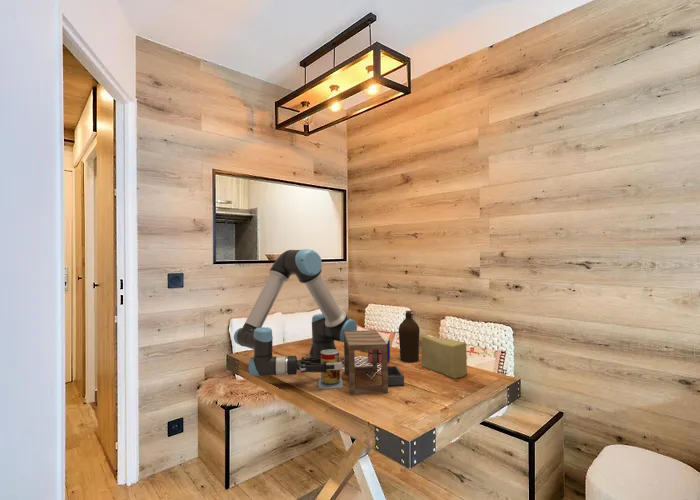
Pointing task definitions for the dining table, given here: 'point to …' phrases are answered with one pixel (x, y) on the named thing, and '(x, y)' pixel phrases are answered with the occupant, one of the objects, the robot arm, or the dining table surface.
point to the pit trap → (394, 376)
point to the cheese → (444, 356)
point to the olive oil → (409, 339)
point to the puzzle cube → (380, 353)
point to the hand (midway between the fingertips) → (341, 363)
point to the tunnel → (365, 342)
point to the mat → (330, 384)
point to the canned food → (330, 357)
